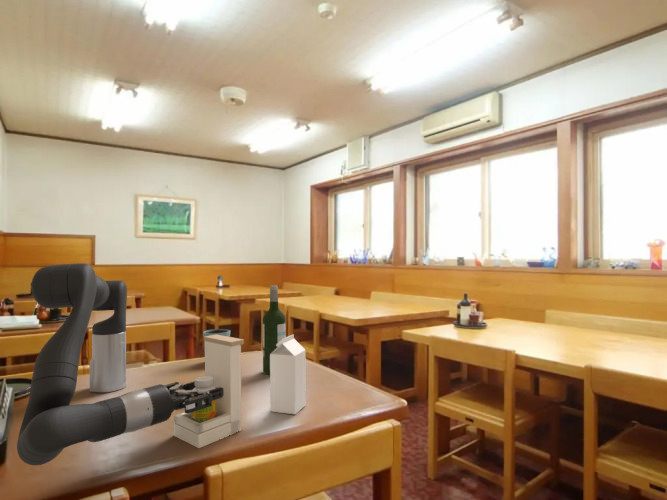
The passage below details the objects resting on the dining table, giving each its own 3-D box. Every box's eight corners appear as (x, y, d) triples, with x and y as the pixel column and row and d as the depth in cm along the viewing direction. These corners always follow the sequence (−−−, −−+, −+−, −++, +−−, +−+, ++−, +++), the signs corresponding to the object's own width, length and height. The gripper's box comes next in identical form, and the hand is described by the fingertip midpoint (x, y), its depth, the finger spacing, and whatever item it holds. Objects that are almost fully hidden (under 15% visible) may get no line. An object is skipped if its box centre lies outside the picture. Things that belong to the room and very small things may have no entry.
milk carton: (306, 405, 111) (305, 335, 112) (295, 415, 105) (294, 340, 105) (282, 402, 114) (281, 333, 114) (270, 412, 107) (269, 338, 107)
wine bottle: (266, 368, 149) (266, 285, 149) (288, 369, 148) (287, 285, 148) (260, 374, 141) (259, 286, 141) (282, 375, 140) (281, 286, 140)
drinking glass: (204, 367, 151) (204, 334, 151) (201, 360, 161) (201, 329, 161) (232, 364, 155) (232, 332, 155) (228, 358, 165) (228, 327, 165)
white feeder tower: (199, 448, 87) (199, 348, 87) (172, 435, 94) (172, 342, 94) (244, 430, 96) (244, 339, 96) (216, 418, 103) (216, 334, 103)
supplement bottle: (193, 427, 90) (193, 383, 90) (189, 419, 95) (189, 376, 95) (218, 423, 93) (218, 379, 93) (213, 415, 97) (213, 373, 98)
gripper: (160, 397, 78) (230, 377, 91) (125, 383, 87) (194, 366, 100) (160, 436, 78) (230, 411, 91) (125, 418, 87) (194, 397, 100)
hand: (211, 388), depth 95 cm, fingers open, 8 cm apart
